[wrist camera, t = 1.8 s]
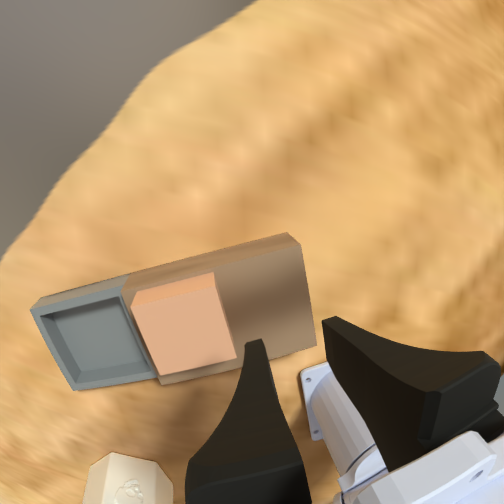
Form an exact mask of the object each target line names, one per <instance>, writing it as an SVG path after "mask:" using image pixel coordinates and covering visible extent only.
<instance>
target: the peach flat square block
mask: <svg viewBox="0 0 504 504" xmlns="http://www.w3.org/2000/svg"><path fill="white" fill-rule="evenodd" d="M131 310H132V312H133V315H134V317H135V320H136V322H137V324H138V327H139V329H140V332H141V334H142V336H143V339H144V341H145V343H146V345H147V348H148V350H149V352H150V354H151V357H152V359H153V361H154V363H155V365H156V367H157V370H158V372H159V374H160V375H165V374H170V373H175V372H179V371H184V370H189V369H193V368H198V367H202V366H206V365H210V364H215V363H219V362H223V361H227V360H231V359H235V358H237V356H236V351H235V346H234V341H233V337H232V334H231V331H230V327H229V324H228V321H227V317H226V314H225V310H224V307H223V304H222V300H221V297H220V293H219V290H218V286H217V283H216V279H215V276H214V272H211V273H207V274H203V275H200V276H196V277H192V278H188V279H184V280H180V281H176V282H173V283H169V284H165V285H161V286H157V287H153V288H149V289H145V290H141V291H137V293H136V295H135V297H134V300H133V302H132V305H131Z"/></svg>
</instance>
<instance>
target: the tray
mask: <svg viewBox="0 0 504 504" xmlns="http://www.w3.org/2000/svg"><path fill="white" fill-rule="evenodd" d="M129 275H130V274H126V275H122V276H119V277H115V278H111V279H107V280H104V281H100V282H96V283H93V284H89V285H85V286H82V287H78V288H74V289H71V290H67V291H63V292H60V293H56V294H52V295H49V296H45V297H42V298H40V299H39V300H38V301H37V302H36V303H35V304H34V306H33V307H32V308H31V309H30V311H31V314H32V316H33V318H34V320H35V322H36V324H37V326H38V328H39V330H40V332H41V334H42V336H43V338H44V340H45V342H46V344H47V346H48V348H49V350H50V352H51V354H52V356H53V357H54V359H55V361H56V363H57V365H58V366H59V368H60V370H61V372H62V373H63V375H64V377H65V378H66V380H67V382H68V383H69V385H70V387H71V388H72V390H73V391H76V390H83V389H91V388H98V387H104V386H111V385H117V384H123V383H129V382H135V381H140V380H146V379H151V378H156V377H157V375H156V373H155V371H154V369H153V367H152V365H151V362H150V360H149V358H148V356H147V354H146V352H145V349H144V347H143V345H142V343H141V340H140V338H139V336H138V333H137V331H136V329H135V326H134V324H133V322H132V319H131V317H130V314H129V312H128V309H127V307H126V304H125V302H124V299H123V297H122V294H121V292H120V291H121V290H122V288H123V286H124V284H125V282H126V280H127V279H128V277H129Z"/></svg>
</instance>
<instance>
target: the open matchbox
mask: <svg viewBox="0 0 504 504" xmlns="http://www.w3.org/2000/svg"><path fill="white" fill-rule="evenodd" d="M211 272H214V276H215V279H216V283H217V286H218V290H219V293H220V297H221V300H222V304H223V307H224V310H225V314H226V317H227V321H228V324H229V327H230V331H231V334H232V337H233V341H234V346H235V351H236V356H237V358H235V359H231V360H227V361H223V362H219V363H215V364H210V365H206V366H202V367H198V368H193V369H189V370H184V371H179V372H175V373H170V374H165V375H160V374H159V372H158V370H157V367H156V365H155V363H154V361H153V359H152V357H151V354H150V352H149V350H148V348H147V345H146V343H145V341H144V339H143V336H142V334H141V332H140V329H139V327H138V324H137V322H136V320H135V317H134V315H133V312H132V310H131V305H132V302H133V300H134V297H135V295H136V293H137V291H141V290H145V289H149V288H153V287H157V286H161V285H165V284H169V283H173V282H176V281H180V280H184V279H188V278H192V277H196V276H200V275H203V274H207V273H211ZM120 292H121V294H122V297H123V299H124V302H125V304H126V307H127V309H128V312H129V314H130V317H131V319H132V322H133V324H134V326H135V329H136V331H137V333H138V336H139V338H140V340H141V343H142V345H143V347H144V349H145V352H146V354H147V356H148V358H149V360H150V362H151V365H152V367H153V369H154V371H155V373H156V375H157V377H158V379H159V381H160V383H161V385H166V384H171V383H176V382H181V381H186V380H190V379H195V378H199V377H204V376H208V375H213V374H217V373H221V372H225V371H229V370H233V369H237V368H241V367H242V366H243V361H244V353H245V347H244V345H245V344H246V342H250V341H253V340H257V339H261V338H262V340H263V343H264V345H265V348H266V352H267V356H268V360H271V359H274V358H278V357H281V356H285V355H288V354H291V353H295V352H298V351H301V350H304V349H308V348H311V347H314V346H317V342H316V335H315V328H314V322H313V315H312V309H311V302H310V296H309V290H308V284H307V278H306V272H305V266H304V260H303V254H302V249H301V244H300V243H298V242H297V241H296V240H295V239H294V238H293V237H292V236H291V235H289V234H288V233H287V232H286V233H283V234H279V235H275V236H271V237H267V238H263V239H259V240H255V241H251V242H247V243H244V244H240V245H236V246H232V247H228V248H224V249H221V250H217V251H213V252H209V253H205V254H201V255H198V256H194V257H190V258H186V259H182V260H179V261H175V262H171V263H167V264H163V265H160V266H156V267H152V268H148V269H145V270H141V271H137V272H133V273H130V275H129V277H128V279H127V280H126V282H125V284H124V286H123V288H122V290H121V291H120Z"/></svg>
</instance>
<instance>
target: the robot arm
mask: <svg viewBox="0 0 504 504" xmlns="http://www.w3.org/2000/svg"><path fill="white" fill-rule="evenodd" d="M322 327H323V335H324V342H325V350H326V358H327V361H328V362H325V363H322V364H319V365H315V366H312V367H309V368H306V369H304V370H302V371H301V373H300V377H301V383H302V388H303V394H304V399H305V405H306V410H307V416H308V422H309V427H310V433H311V438H312V440H314V441H317V440H320V439H324V441H325V444H326V446H327V448H328V450H329V453H330V455H331V457H332V459H333V461H334V464H335V466H336V468H337V470H338V472H339V475H340V478H338V479H337V481H338V483H339V485H340V487H341V490H342V491H341V492H339V493H337V494H336V495H335V496H334V498H333V503H332V504H504V416H502V414H501V413H500V412H499V411H498V410H497V409H498V406H499V405H498V403H497V402H496V401H494V399H493V398H494V395H495V392H496V389H497V387H498V384H499V380H500V376H501V367H500V365H499V363H498V362H496V361H495V360H494V359H493V358H491V357H490V356H489V355H488V354H486V353H485V352H484V351H471V352H448V351H436V350H429V349H422V348H417V347H412V346H408V345H404V344H401V343H397V342H394V341H391V340H388V339H385V338H383V337H380V336H378V335H375V334H373V333H370V332H368V331H366V330H364V329H362V328H359V327H357V326H355V325H353V324H351V323H349V322H347V321H345V320H343V319H341V318H339V317H337V316H334V317H331V318H328V319H325V320H322ZM244 347H245V353H244V361H243V366H242V371H241V375H240V379H239V382H238V385H237V388H236V391H235V394H234V396H233V399H232V401H231V403H230V405H229V407H228V409H227V411H226V413H225V415H224V417H223V419H222V420H221V422H220V424H219V425H218V427H217V428H216V429H215V431H214V432H213V434H212V435H211V436H210V438H209V439H208V440H207V442H206V443H205V444H204V445H203V446H202V448H201V449H200V450H199V451H198V452H197V453H196V454H195V455H194V456H193V457H192V458H191V459H190V460H189V462H188V467H187V472H186V479H185V502H186V504H312V500H311V496H310V491H309V486H308V482H307V477H306V473H305V468H304V464H303V461H302V458H301V455H300V452H299V450H298V447H297V445H296V442H295V440H294V438H293V436H292V433H291V431H290V429H289V426H288V424H287V421H286V419H285V416H284V414H283V411H282V409H281V406H280V404H279V400H278V396H277V392H276V388H275V384H274V380H273V376H272V372H271V368H270V364H269V360H268V356H267V352H266V348H265V345H264V343H263V340H262V338H261V339H257V340H253V341H250V342H246V344H245V345H244ZM307 378H309V379H308V380H306V379H307Z"/></svg>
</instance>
